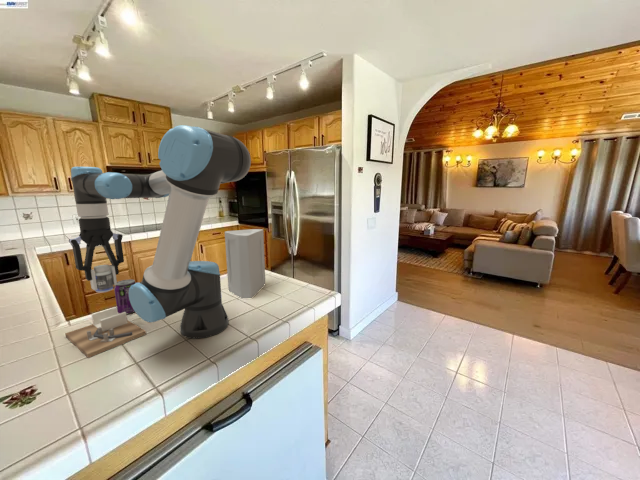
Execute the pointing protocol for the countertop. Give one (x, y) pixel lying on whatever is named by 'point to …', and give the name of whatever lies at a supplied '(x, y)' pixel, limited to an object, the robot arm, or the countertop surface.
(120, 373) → the countertop surface
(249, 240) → the grey triangular prism
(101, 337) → the cable
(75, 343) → the board
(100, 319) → the end holder
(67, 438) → the countertop surface
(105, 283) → the pill bottle
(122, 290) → the beverage can
